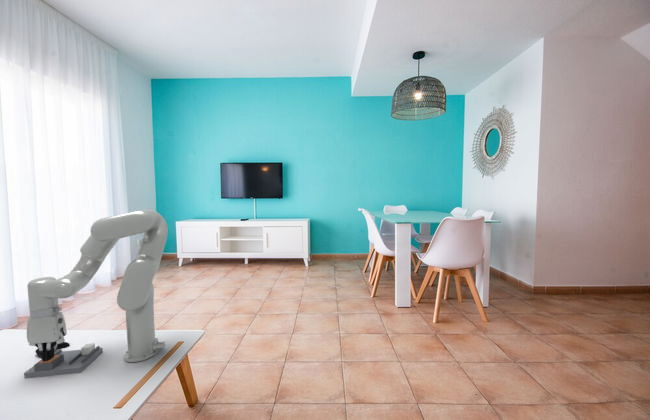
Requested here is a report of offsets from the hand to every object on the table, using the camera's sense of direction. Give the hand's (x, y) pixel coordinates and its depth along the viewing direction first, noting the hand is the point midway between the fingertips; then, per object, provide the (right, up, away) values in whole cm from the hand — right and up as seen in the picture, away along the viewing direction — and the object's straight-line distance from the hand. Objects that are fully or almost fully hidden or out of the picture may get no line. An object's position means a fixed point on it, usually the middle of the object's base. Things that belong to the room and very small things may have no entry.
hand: (48, 358), depth 103 cm
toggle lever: (-5, -1, +7) cm, 9 cm away
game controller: (-12, -5, +13) cm, 19 cm away
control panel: (+3, -5, +4) cm, 7 cm away
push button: (0, -2, 0) cm, 2 cm away
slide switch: (+8, -2, +8) cm, 12 cm away
